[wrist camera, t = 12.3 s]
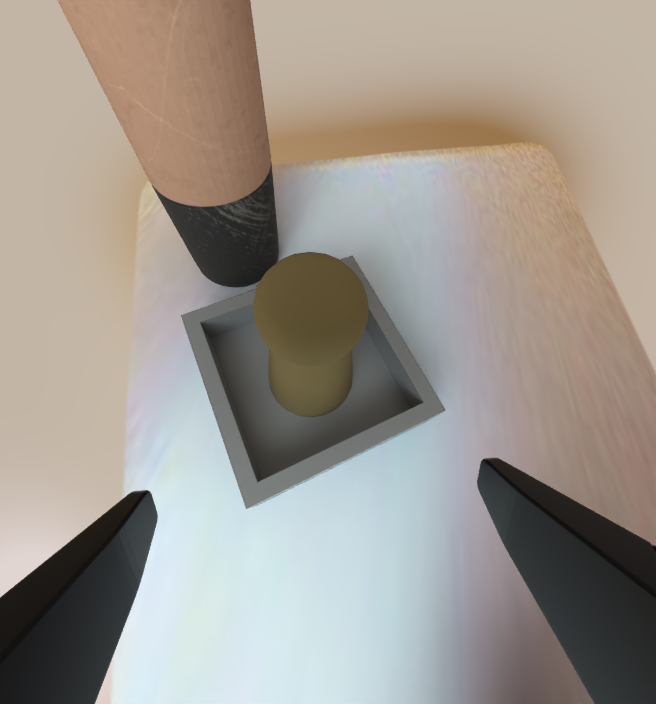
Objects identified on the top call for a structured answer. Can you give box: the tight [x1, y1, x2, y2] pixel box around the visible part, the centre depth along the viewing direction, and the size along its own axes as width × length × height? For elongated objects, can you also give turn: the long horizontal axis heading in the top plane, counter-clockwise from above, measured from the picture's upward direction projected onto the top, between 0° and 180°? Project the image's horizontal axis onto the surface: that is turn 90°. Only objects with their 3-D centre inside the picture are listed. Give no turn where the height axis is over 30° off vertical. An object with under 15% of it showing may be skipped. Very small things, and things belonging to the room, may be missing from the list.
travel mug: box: [58, 0, 279, 287], centre depth 19 cm, size 8×8×20 cm
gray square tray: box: [181, 256, 445, 509], centre depth 23 cm, size 13×13×4 cm
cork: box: [253, 252, 369, 417], centre depth 18 cm, size 6×6×11 cm
